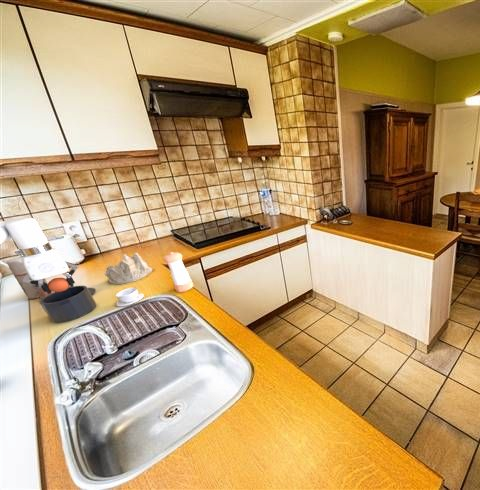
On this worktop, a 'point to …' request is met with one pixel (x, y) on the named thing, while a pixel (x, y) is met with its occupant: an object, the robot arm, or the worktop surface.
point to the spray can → (20, 273)
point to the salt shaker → (178, 272)
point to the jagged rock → (128, 270)
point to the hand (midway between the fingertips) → (61, 288)
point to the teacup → (128, 296)
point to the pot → (68, 304)
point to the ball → (58, 285)
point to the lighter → (40, 291)
